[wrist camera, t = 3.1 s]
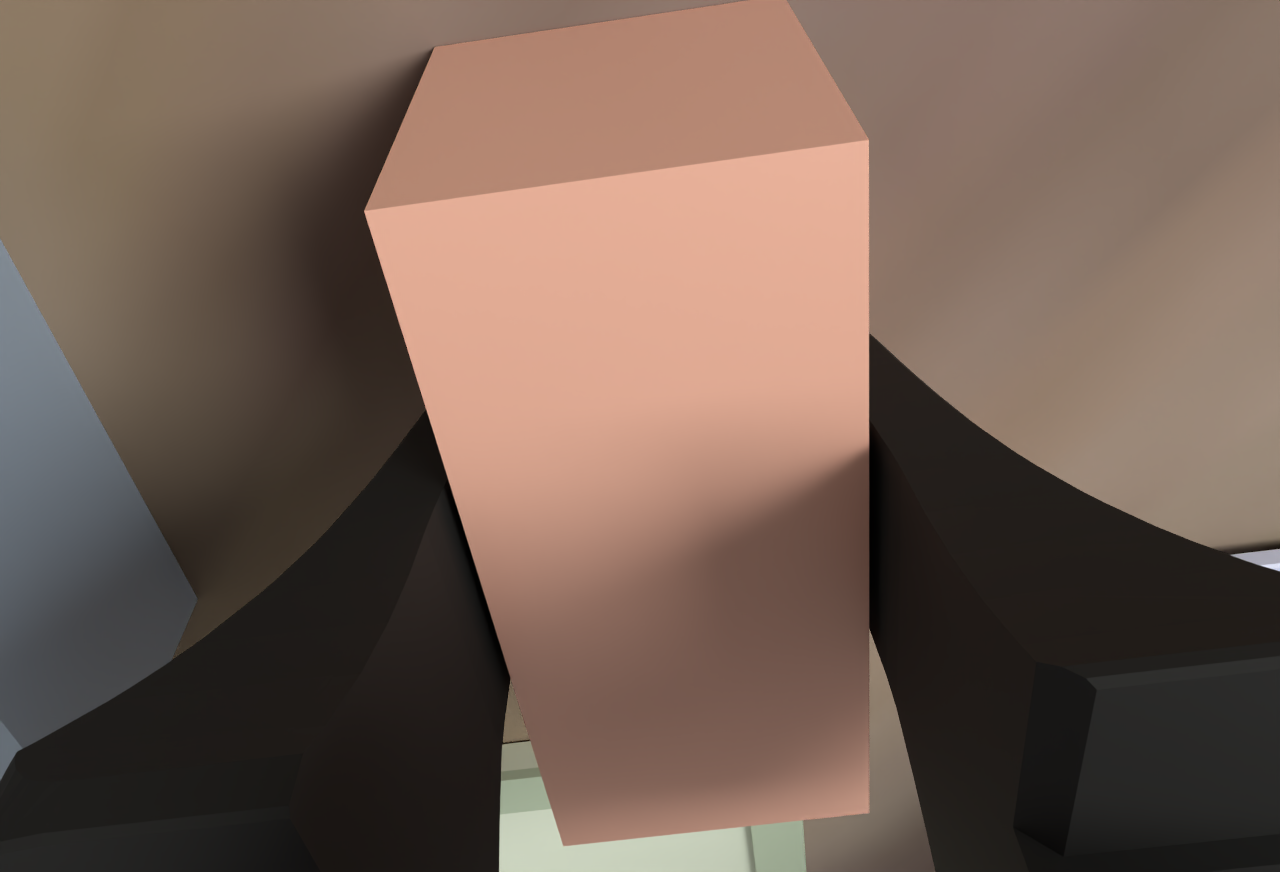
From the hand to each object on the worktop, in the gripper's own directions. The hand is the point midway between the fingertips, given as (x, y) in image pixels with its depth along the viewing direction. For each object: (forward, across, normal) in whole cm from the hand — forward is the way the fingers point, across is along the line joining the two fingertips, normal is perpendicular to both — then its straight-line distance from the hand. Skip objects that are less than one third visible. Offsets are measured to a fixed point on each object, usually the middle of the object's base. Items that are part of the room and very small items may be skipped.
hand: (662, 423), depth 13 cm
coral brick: (+2, 0, 0) cm, 2 cm away
